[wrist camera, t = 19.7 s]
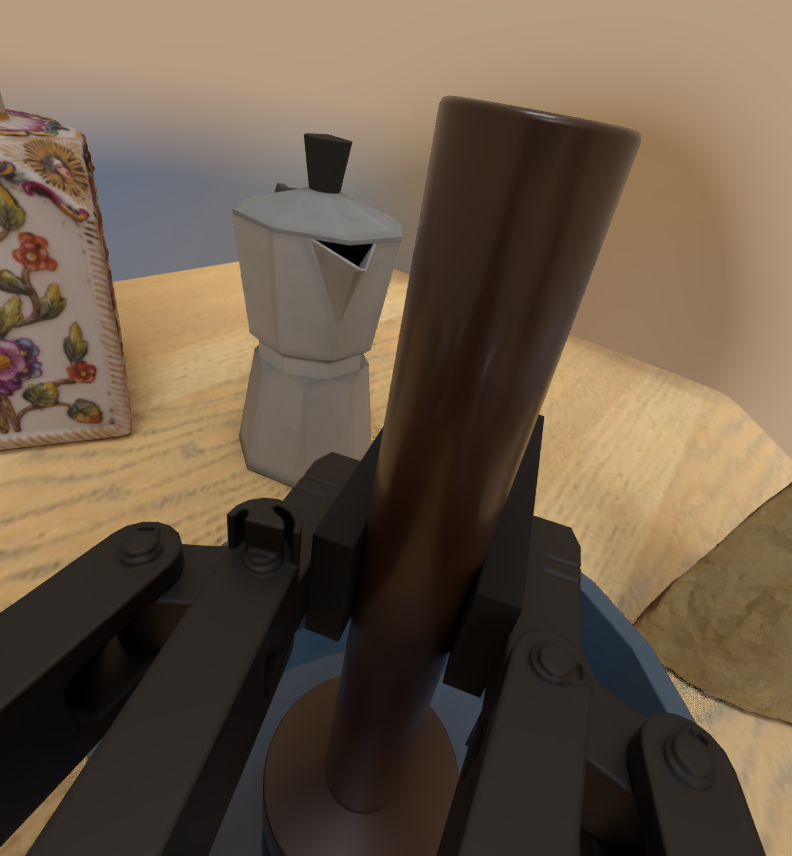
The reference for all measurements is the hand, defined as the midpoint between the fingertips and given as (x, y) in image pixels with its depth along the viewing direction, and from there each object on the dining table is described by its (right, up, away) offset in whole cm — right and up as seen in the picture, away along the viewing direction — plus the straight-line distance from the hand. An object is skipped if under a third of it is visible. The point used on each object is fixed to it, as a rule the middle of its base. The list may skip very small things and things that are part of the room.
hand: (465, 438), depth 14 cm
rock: (+15, -12, +9) cm, 21 cm away
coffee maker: (-8, 0, +20) cm, 21 cm away
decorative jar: (-26, +2, +18) cm, 32 cm away
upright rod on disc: (-3, -11, +1) cm, 11 cm away
